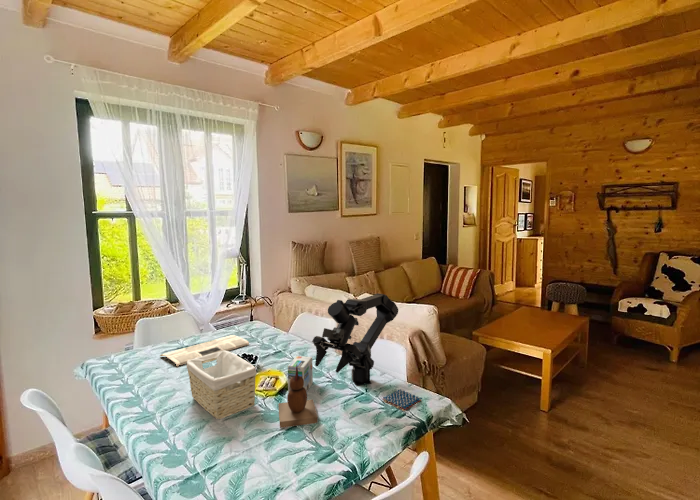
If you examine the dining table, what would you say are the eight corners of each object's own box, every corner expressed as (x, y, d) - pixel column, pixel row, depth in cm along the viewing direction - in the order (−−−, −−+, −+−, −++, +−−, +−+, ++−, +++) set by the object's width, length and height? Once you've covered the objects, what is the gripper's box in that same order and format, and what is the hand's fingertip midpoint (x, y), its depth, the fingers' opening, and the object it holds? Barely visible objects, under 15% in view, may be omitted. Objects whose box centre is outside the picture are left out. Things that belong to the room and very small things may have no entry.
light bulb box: (305, 395, 144) (304, 367, 143) (287, 393, 146) (286, 366, 144) (313, 382, 155) (312, 356, 154) (297, 381, 156) (296, 355, 155)
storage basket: (259, 406, 137) (258, 366, 135) (215, 424, 126) (212, 380, 124) (228, 384, 154) (226, 348, 152) (186, 398, 143) (184, 360, 141)
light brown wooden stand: (313, 404, 137) (313, 399, 137) (317, 422, 126) (317, 417, 125) (278, 408, 135) (278, 403, 134) (279, 427, 123) (279, 421, 123)
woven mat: (399, 392, 146) (399, 387, 146) (422, 402, 139) (422, 397, 138) (380, 402, 139) (380, 397, 139) (404, 413, 132) (404, 407, 131)
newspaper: (176, 368, 171) (176, 362, 171) (158, 357, 184) (158, 351, 184) (249, 346, 198) (248, 340, 198) (229, 337, 211) (228, 332, 211)
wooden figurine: (294, 403, 134) (293, 361, 132) (310, 406, 132) (308, 363, 130) (285, 413, 128) (283, 369, 126) (300, 416, 126) (299, 371, 124)
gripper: (314, 314, 144) (294, 353, 137) (355, 323, 133) (336, 365, 126) (328, 329, 152) (310, 366, 144) (368, 338, 141) (351, 379, 133)
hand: (326, 369), depth 137 cm, fingers open, 9 cm apart
